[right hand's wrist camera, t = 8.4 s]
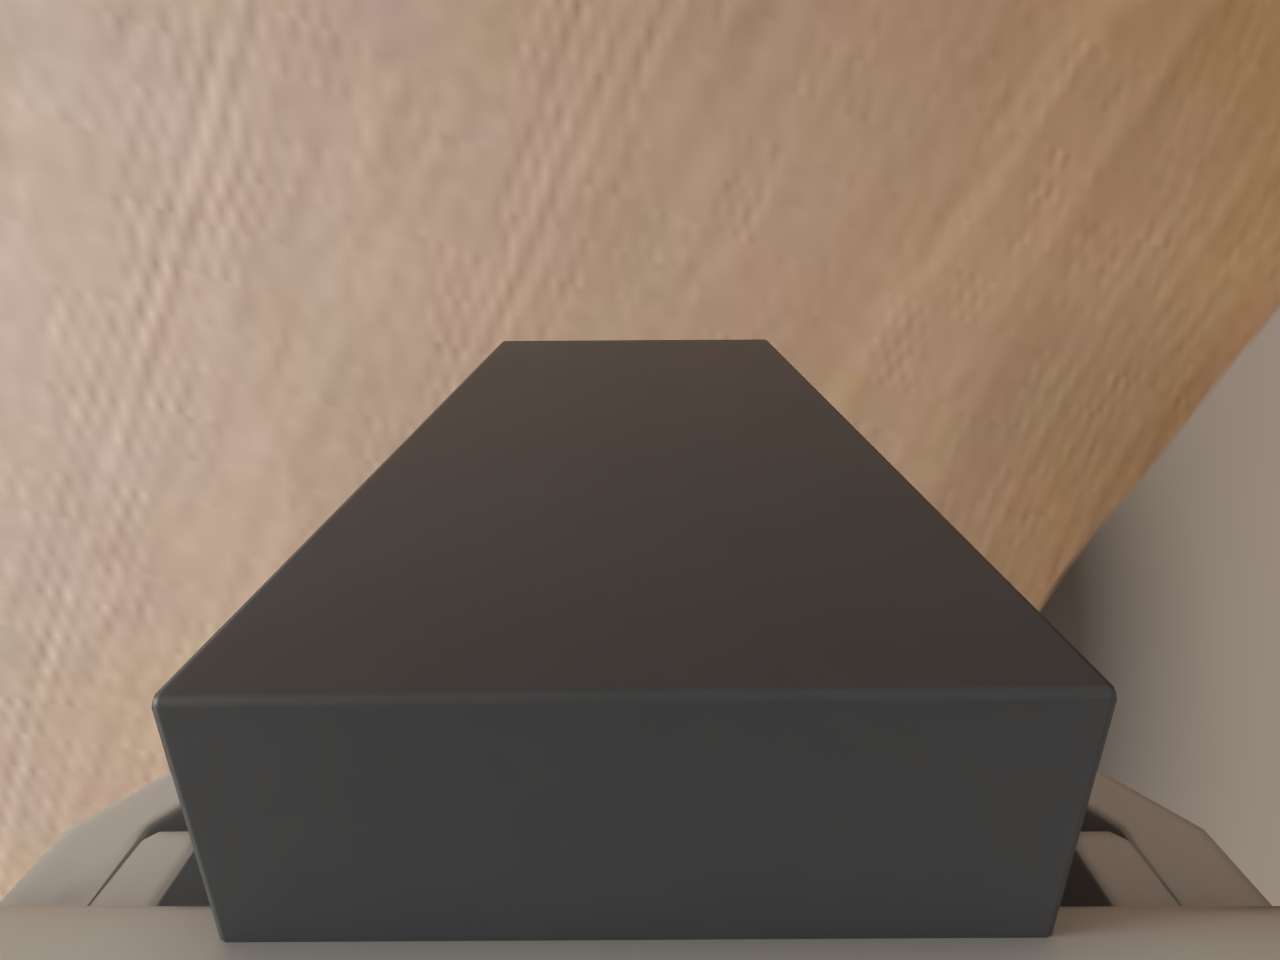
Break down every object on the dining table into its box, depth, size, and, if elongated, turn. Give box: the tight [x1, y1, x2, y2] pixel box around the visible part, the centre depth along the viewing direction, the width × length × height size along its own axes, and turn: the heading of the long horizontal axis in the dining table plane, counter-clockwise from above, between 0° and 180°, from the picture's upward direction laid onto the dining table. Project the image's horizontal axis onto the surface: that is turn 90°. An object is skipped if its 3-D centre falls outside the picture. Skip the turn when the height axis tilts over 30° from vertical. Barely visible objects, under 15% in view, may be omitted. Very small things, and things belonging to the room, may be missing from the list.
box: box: [152, 340, 1117, 942], centre depth 14 cm, size 22×6×13 cm, turn 0°
